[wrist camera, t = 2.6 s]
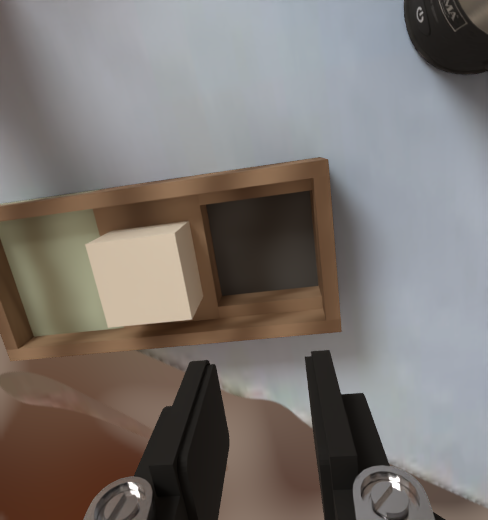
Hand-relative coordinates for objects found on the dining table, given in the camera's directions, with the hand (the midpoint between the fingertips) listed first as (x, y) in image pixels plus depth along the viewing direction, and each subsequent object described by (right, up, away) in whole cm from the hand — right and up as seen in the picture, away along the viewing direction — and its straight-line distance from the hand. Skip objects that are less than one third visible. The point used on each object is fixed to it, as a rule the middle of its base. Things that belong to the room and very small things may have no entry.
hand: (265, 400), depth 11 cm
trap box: (-7, +5, +19) cm, 21 cm away
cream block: (-7, +4, +17) cm, 19 cm away
